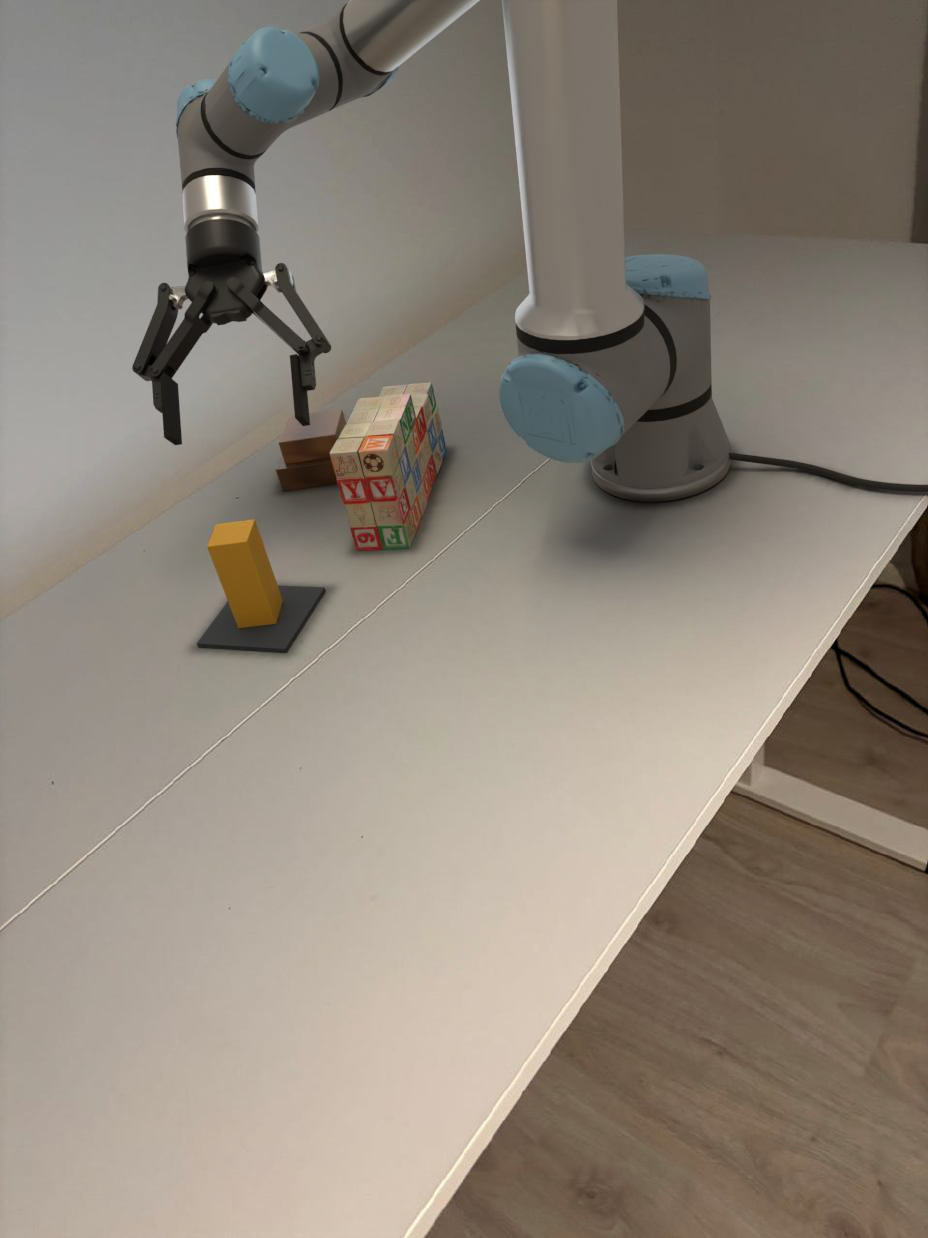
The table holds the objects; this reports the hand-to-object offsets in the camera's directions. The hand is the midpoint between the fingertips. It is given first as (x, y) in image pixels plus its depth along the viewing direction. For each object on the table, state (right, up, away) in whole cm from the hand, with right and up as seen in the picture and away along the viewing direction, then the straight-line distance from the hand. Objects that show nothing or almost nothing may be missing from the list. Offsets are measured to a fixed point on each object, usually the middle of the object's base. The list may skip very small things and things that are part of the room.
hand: (237, 431), depth 103 cm
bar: (+2, -18, +1) cm, 18 cm away
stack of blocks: (+16, -5, +16) cm, 23 cm away
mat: (+2, -19, +1) cm, 19 cm away
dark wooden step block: (+5, 0, +25) cm, 26 cm away
